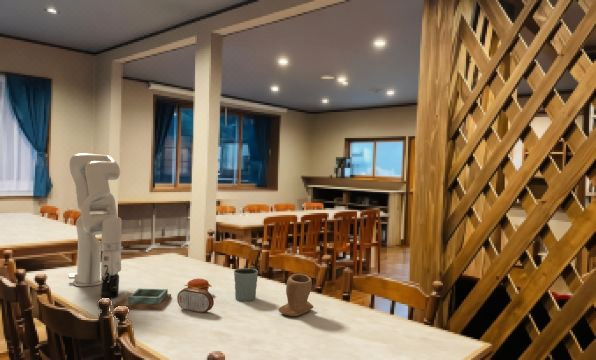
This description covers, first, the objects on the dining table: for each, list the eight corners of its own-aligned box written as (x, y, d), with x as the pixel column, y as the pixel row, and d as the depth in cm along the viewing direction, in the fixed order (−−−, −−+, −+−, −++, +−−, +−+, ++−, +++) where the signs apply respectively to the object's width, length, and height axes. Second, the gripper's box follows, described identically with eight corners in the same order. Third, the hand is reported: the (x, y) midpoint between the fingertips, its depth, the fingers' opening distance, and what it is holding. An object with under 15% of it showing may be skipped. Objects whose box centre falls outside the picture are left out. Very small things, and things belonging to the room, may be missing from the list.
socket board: (112, 308, 164) (113, 298, 164) (127, 296, 180) (127, 286, 180) (160, 309, 165) (160, 299, 165) (171, 297, 181) (171, 288, 181)
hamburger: (196, 298, 181) (196, 283, 181) (182, 294, 187) (182, 278, 187) (213, 294, 188) (214, 279, 188) (200, 290, 194) (200, 275, 194)
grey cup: (261, 297, 186) (262, 270, 186) (249, 303, 177) (250, 274, 177) (241, 294, 190) (242, 267, 190) (228, 299, 181) (229, 271, 181)
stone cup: (299, 321, 159) (300, 281, 158) (274, 314, 166) (275, 275, 165) (321, 311, 171) (322, 273, 171) (297, 305, 178) (298, 268, 178)
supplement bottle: (111, 299, 175) (112, 270, 175) (97, 298, 176) (97, 269, 176) (122, 295, 182) (122, 266, 182) (107, 293, 183) (108, 265, 183)
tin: (213, 312, 165) (214, 290, 165) (209, 315, 162) (210, 292, 162) (180, 307, 170) (180, 285, 170) (175, 309, 167) (176, 287, 167)
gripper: (112, 251, 170) (110, 295, 171) (127, 243, 188) (126, 284, 188) (93, 250, 170) (91, 295, 170) (110, 242, 187) (109, 283, 188)
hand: (109, 289), depth 179 cm, fingers closed on supplement bottle, 6 cm apart
